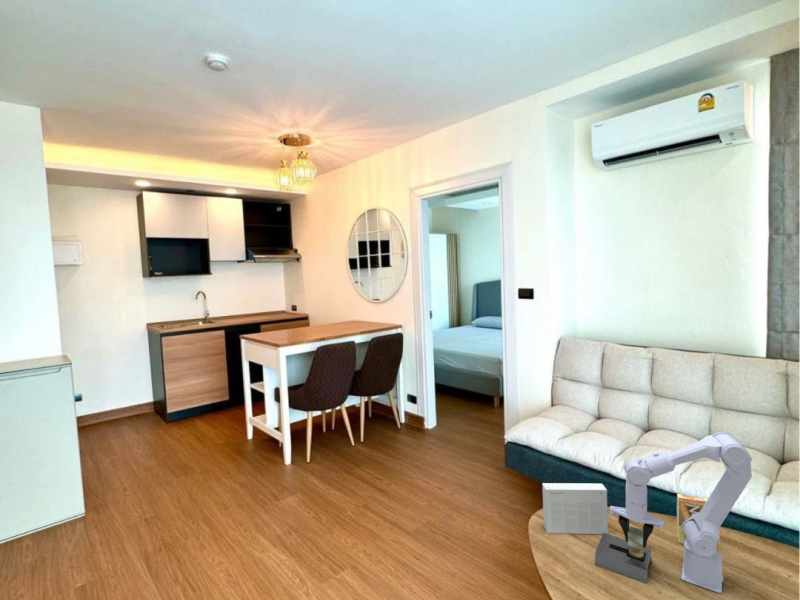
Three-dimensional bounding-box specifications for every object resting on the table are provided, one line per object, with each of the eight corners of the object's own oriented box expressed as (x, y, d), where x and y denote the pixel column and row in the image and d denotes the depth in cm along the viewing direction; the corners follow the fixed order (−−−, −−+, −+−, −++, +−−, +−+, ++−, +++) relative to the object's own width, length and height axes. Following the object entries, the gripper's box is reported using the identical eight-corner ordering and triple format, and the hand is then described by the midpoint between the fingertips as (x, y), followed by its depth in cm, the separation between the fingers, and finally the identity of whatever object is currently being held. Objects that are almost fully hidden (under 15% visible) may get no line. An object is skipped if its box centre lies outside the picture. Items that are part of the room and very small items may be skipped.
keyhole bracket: (651, 560, 132) (651, 548, 132) (646, 583, 123) (646, 570, 122) (603, 544, 141) (603, 532, 140) (595, 564, 131) (595, 552, 131)
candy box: (707, 542, 140) (707, 497, 139) (711, 550, 136) (711, 504, 135) (676, 536, 143) (676, 493, 142) (678, 543, 139) (679, 499, 138)
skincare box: (602, 525, 151) (602, 482, 150) (608, 535, 145) (608, 490, 144) (542, 524, 153) (541, 482, 152) (546, 533, 147) (545, 489, 146)
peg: (644, 552, 130) (644, 530, 129) (642, 560, 127) (642, 537, 126) (630, 547, 132) (630, 526, 132) (627, 554, 129) (627, 532, 129)
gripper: (665, 501, 127) (665, 544, 128) (612, 488, 136) (612, 528, 137) (663, 512, 121) (662, 557, 122) (608, 497, 130) (608, 539, 131)
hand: (636, 543), depth 129 cm, fingers closed on peg, 4 cm apart
